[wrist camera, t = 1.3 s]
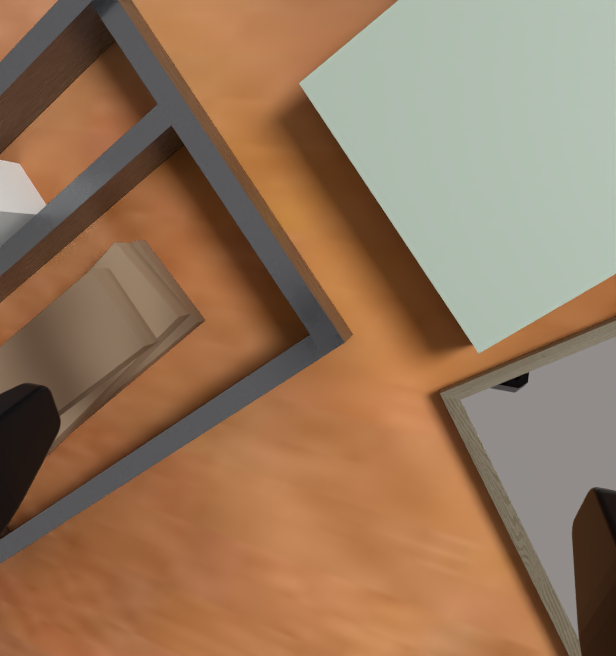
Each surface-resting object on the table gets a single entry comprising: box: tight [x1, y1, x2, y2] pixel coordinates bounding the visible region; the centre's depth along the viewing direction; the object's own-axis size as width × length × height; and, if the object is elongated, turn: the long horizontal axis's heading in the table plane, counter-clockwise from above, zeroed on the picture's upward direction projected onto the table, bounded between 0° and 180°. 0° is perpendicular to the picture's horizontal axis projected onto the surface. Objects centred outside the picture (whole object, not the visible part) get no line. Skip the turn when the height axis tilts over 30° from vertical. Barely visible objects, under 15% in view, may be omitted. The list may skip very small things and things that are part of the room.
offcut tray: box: [0, 0, 353, 563], centre depth 25 cm, size 23×18×2 cm
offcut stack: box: [0, 240, 205, 457], centre depth 24 cm, size 12×5×4 cm, turn 129°
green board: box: [299, 0, 616, 353], centre depth 19 cm, size 12×12×2 cm
